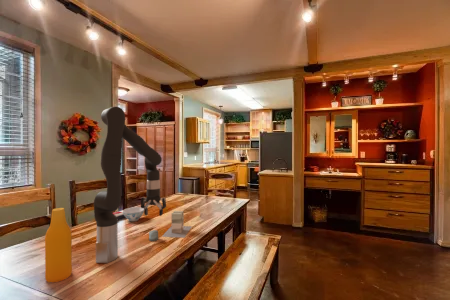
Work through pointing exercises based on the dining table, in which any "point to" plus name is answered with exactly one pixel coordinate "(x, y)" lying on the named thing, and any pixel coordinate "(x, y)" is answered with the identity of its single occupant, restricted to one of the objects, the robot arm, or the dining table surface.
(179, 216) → the top block
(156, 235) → the cylinder
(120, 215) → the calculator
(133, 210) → the chinaware
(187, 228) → the tower board
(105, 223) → the robot arm
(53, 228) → the beer bottle
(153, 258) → the dining table surface
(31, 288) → the dining table surface
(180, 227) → the base block
